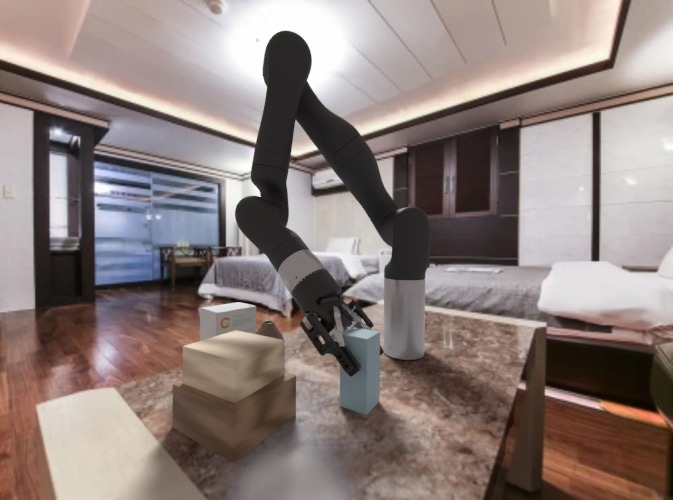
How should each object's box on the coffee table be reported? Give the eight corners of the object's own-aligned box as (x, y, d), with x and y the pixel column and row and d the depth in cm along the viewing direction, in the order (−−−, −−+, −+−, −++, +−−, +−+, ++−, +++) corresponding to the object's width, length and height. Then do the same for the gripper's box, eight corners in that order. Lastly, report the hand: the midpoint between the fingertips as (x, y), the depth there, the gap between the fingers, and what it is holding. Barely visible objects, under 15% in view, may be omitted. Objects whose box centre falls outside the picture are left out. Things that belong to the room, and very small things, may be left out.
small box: (238, 365, 60) (239, 301, 60) (256, 374, 56) (257, 305, 55) (198, 378, 53) (199, 307, 53) (215, 389, 49) (216, 312, 49)
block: (354, 393, 48) (354, 327, 48) (379, 401, 46) (380, 331, 46) (339, 406, 45) (340, 333, 44) (366, 415, 42) (367, 339, 42)
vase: (276, 372, 56) (277, 327, 56) (243, 369, 57) (244, 325, 57) (289, 359, 63) (290, 318, 63) (259, 356, 64) (260, 317, 64)
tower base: (239, 394, 48) (239, 358, 48) (295, 417, 42) (296, 375, 42) (172, 429, 39) (172, 384, 39) (232, 465, 33) (232, 411, 33)
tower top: (235, 361, 47) (235, 330, 47) (284, 374, 42) (284, 340, 42) (182, 383, 39) (182, 346, 39) (235, 403, 34) (235, 360, 34)
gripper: (293, 269, 43) (362, 366, 37) (343, 265, 55) (402, 337, 49) (267, 301, 46) (327, 396, 40) (320, 290, 58) (373, 362, 52)
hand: (368, 363), depth 44 cm, fingers open, 7 cm apart
